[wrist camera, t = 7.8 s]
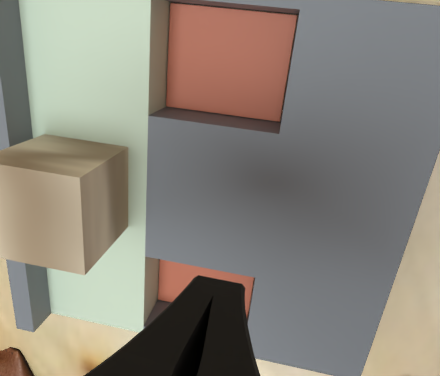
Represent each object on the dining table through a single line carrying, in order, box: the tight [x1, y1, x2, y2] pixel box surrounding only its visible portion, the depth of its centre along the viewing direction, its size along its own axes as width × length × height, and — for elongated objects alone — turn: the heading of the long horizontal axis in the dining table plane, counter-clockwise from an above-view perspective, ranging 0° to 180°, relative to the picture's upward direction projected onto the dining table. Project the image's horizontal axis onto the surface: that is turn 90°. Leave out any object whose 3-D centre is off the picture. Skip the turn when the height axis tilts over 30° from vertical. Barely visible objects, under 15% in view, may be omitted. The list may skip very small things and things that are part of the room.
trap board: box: [0, 0, 440, 376], centre depth 17 cm, size 18×17×4 cm
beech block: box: [0, 134, 128, 275], centre depth 15 cm, size 4×4×4 cm
